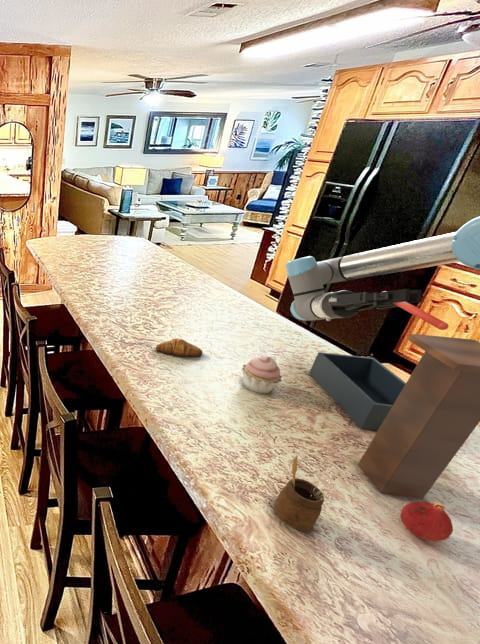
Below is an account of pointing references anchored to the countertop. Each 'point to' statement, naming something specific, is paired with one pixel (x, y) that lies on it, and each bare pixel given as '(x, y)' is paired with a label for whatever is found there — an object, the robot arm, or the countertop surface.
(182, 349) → the croissant
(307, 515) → the utensil holder
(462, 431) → the stand
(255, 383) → the cupcake
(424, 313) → the red long rounded rod
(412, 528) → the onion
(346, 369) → the bin
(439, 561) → the countertop surface
